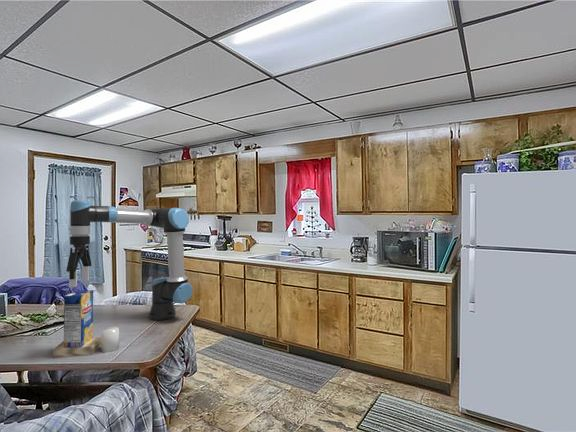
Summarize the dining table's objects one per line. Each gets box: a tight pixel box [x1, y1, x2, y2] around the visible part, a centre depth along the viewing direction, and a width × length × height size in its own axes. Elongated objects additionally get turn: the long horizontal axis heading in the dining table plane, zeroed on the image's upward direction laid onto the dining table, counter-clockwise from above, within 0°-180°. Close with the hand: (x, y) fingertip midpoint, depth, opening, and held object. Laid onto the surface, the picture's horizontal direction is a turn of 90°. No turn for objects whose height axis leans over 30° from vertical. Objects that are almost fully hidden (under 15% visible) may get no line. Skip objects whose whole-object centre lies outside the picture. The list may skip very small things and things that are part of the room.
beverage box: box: [63, 289, 94, 348], centre depth 145 cm, size 7×11×22 cm, turn 7°
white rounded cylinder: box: [100, 326, 120, 353], centre depth 148 cm, size 7×7×9 cm
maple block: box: [52, 337, 101, 358], centre depth 145 cm, size 15×11×4 cm
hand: (79, 283), depth 146 cm, fingers open, 13 cm apart
